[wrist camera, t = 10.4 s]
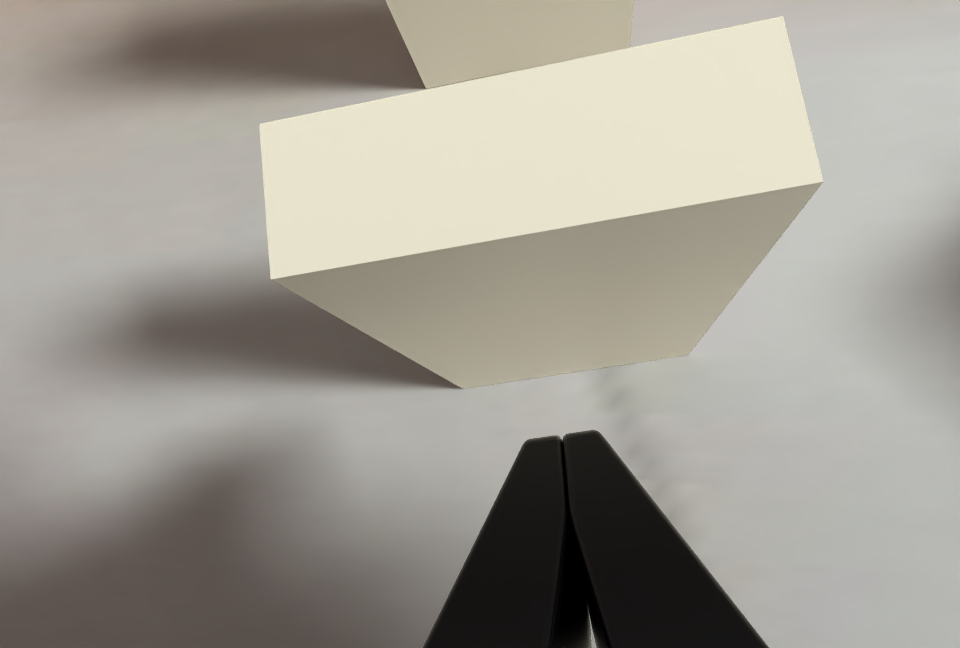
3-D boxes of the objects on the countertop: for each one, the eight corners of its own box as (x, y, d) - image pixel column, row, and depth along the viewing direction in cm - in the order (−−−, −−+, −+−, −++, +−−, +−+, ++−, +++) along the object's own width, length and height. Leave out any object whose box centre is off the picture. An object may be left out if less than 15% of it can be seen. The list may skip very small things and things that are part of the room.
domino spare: (688, 354, 16) (823, 182, 6) (463, 388, 17) (270, 280, 7) (674, 283, 16) (783, 15, 7) (454, 320, 17) (258, 123, 7)
